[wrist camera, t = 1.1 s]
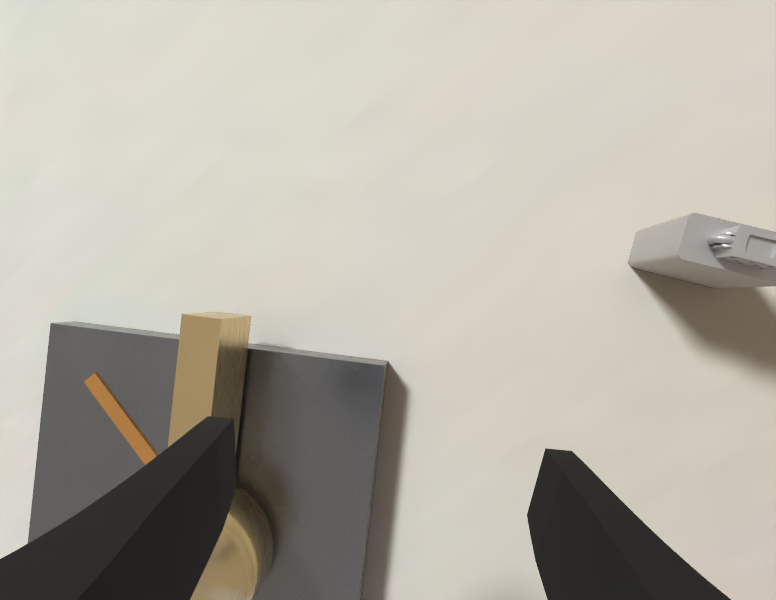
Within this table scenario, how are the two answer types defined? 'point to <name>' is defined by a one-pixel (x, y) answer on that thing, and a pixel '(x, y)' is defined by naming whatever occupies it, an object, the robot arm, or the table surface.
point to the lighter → (707, 252)
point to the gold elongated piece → (224, 399)
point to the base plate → (254, 446)
